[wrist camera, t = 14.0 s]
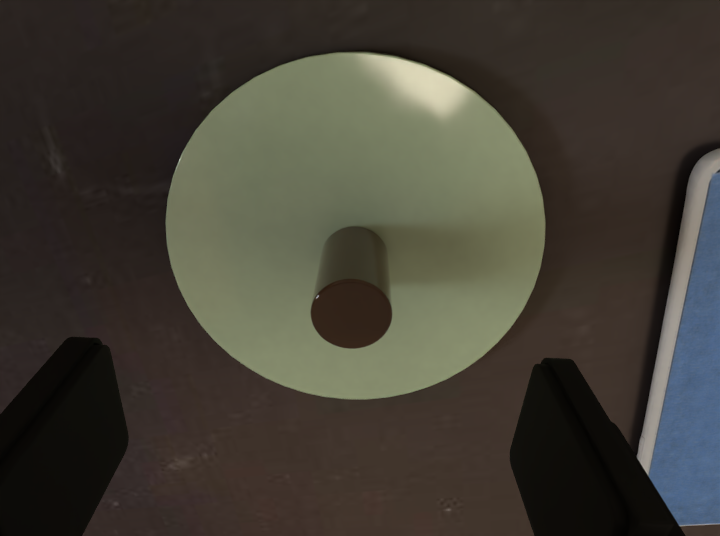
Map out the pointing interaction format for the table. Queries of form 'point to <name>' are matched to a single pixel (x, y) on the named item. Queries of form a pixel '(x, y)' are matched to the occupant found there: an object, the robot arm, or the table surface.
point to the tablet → (689, 364)
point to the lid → (355, 225)
